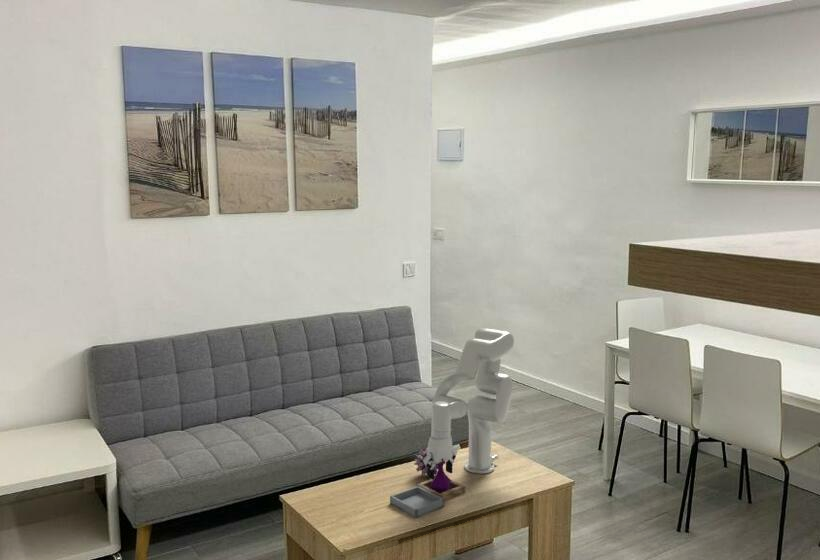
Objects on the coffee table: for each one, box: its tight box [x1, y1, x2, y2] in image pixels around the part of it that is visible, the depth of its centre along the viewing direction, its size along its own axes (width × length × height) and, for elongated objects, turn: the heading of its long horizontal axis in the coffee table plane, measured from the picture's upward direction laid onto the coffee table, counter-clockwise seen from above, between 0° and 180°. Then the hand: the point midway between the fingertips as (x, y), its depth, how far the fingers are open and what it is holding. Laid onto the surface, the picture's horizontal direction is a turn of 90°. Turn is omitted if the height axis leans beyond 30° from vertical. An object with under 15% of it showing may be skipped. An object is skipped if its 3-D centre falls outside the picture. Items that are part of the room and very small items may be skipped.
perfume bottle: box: [430, 459, 452, 493], centre depth 291 cm, size 8×8×18 cm
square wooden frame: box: [415, 478, 466, 501], centre depth 292 cm, size 14×14×2 cm
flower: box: [413, 447, 438, 477], centre depth 306 cm, size 12×12×12 cm
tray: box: [389, 485, 445, 518], centre depth 281 cm, size 14×15×3 cm
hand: (440, 475), depth 291 cm, fingers open, 9 cm apart
